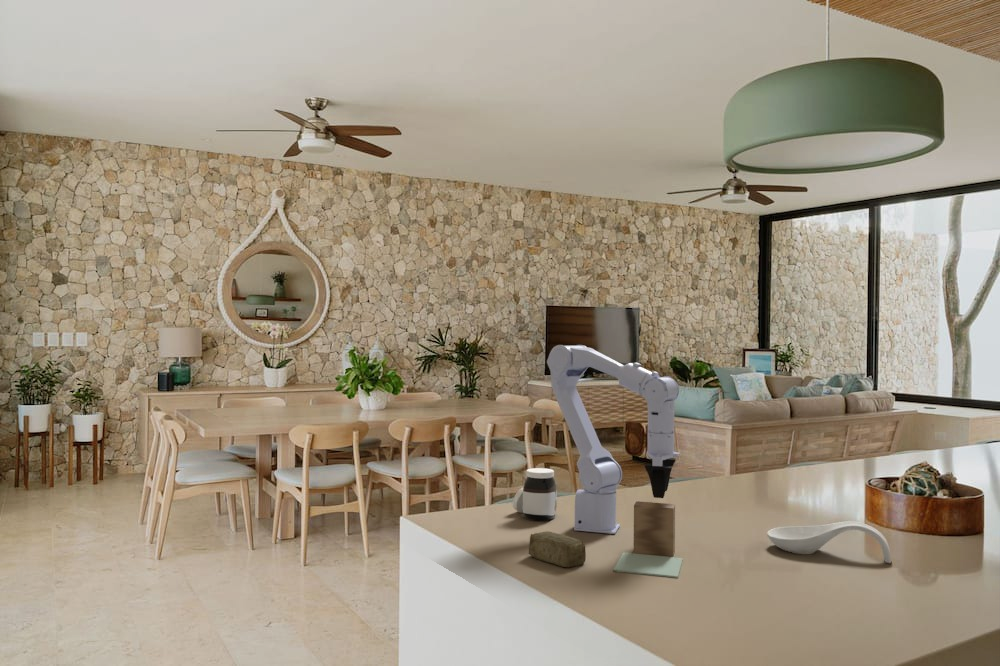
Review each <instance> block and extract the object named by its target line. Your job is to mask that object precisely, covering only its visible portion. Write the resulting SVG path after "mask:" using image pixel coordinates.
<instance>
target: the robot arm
mask: <svg viewBox="0 0 1000 666" xmlns="http://www.w3.org/2000/svg"><path fill="white" fill-rule="evenodd" d="M548 354H549V355H548V358H547V360H546V364H547V366H548V368H549V371H550V383H551V389H552V392H553V394H554V397H555V400H556V402H557V403H558V406H559V409H560V411H561V413H562V416H563V418H564V420H565V423H566V425H567V428H568V429H569V432H570V435H571V436H572V439H573V441H574V443H575V446H576V449H577V450H578V454H579V457H578V460H577V461H576V467H577V470H578V478H579V482H580V484H581V486H582V487H583V489H577V490H576V492H575V497H574V527H573V530H574V531H576V532H577V531H578V532H580V531H581V532H589V533H599V534H600V533H601V534H609V535H610V534H611V535H614V534H616V533H617V531H618V530H619V528H620V527H621V524H620V523H617V490H618V485H619V484H620V482H621V481H622V479H623V470H622V467H621V466H620V464H619V463H618V462H617V461H616V460H615V459H614V458H613V455H612V453H611V452H610V451H609V450H608V449H606V448H605V447H604V446H602V444H601V442H600V440H599V438H598V435H597V432H596V430H595V428H594V426H593V424H592V421H591V419H590V416H589V414H588V411H587V410H586V407H585V405H584V403H583V400H582V398H581V396H580V394H579V391H578V389H577V384H578V382H579V381H580V379H581V378H582V376H583V375H584V373H585V372H586V371H587V369H588V368H592V369H594V370H597V371H600V372H602V373H605V374H606V375H609V376H611V377H614V378H616V379H617V380H618V384H619V385H620V386H621V387H623V388H625V389H627V390H629V391H631V392H634V393H635V394H637V395H639V396H642V397H643V399H644V400H645V402H646V404H647V405H646V407H647V409H646V410H647V450H646V456H647V457H649V462H650V463H645V464H644V468H645V470H646V472H647V475H648V477H649V480H650V481H649V482H650V486H651V487H650V488H651V491H652V496H653V498H655V499H656V498H657V499H664V498H665V494H666V492H667V491H668V487H669V484H670V477H671V473H672V468H673V467H674V464H675V462H676V458H677V457H680V452H677V451H675V401H676V400H677V398H678V397H679V394H680V388H679V385H678V382H677V381H676V380H675V379H673V378H672V377H671V376H669V375H666V376H665V375H664V376H660V375H659V374H660V373H659V372H657V371H656V370H655V371H651V370H649V369H646V368H644V367H642V364H641V363H639V362H629V363H627V364H622V363H620V362H618V361H617V360H614V359H613V358H611V357H609V356H607V355H605V354H603V353H601V352H600V351H598V350H595V349H594V348H593V347H587V346H586V345H583V344H576V345H563V344H558V345H555V346H553V348H552V349H551V350H550V352H549V353H548Z"/></svg>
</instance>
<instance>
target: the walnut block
mask: <svg viewBox="0 0 1000 666" xmlns="http://www.w3.org/2000/svg"><path fill="white" fill-rule="evenodd" d="M675 534H676V504H675V503H667V502H666V503H664V502H663V503H662V502H652V501H635V503H634V505H633V553H635V554H645V555H655V556H666V557H675V552H676V551H675V550H676V535H675Z"/></svg>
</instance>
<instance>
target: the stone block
mask: <svg viewBox="0 0 1000 666" xmlns="http://www.w3.org/2000/svg"><path fill="white" fill-rule="evenodd" d="M528 555H530V557H532V558H534V559H537V560H539V561H543V562H545V563H547V564H548V563H550V564H552V565H556V566H559V567H563V568H574V567H577V566H581V565H583V564H585V562H586V555H587V553H586V545H585V543H584V541H583V540H582V539H578V538H575V537H573V536H572V537H571V536H567V535H566V534H565V535H564V534H561V533H557V532H554V531H553V532H552V531H542V532H535V533H530V536H529V545H528Z"/></svg>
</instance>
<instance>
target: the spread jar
mask: <svg viewBox="0 0 1000 666" xmlns="http://www.w3.org/2000/svg"><path fill="white" fill-rule="evenodd" d="M525 475H526V478H525V481H524V483H523V486H522V487H521V488H520V489H519V490H517V492H516V493H515V495H514V496H513V500H512V508H513V509H514V510H515V511H517V512H518V513H522V514H523V516H524V518H525V519H527V520H530V521H537V522H543V521H544V522H547V521H551V520H553V519H554V518H555V517H556V513H557V508H558V507H557V505H558V504H557V503H558V502H557V501H558V499H557V497H558V495H557V494H558V488H557V487H558V486H557V482H556V480H555V478H554V477H555V470H554V469H551V468H545V467H537V468H536V467H534V468H533V467H532V468H528V469H526V471H525Z"/></svg>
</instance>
